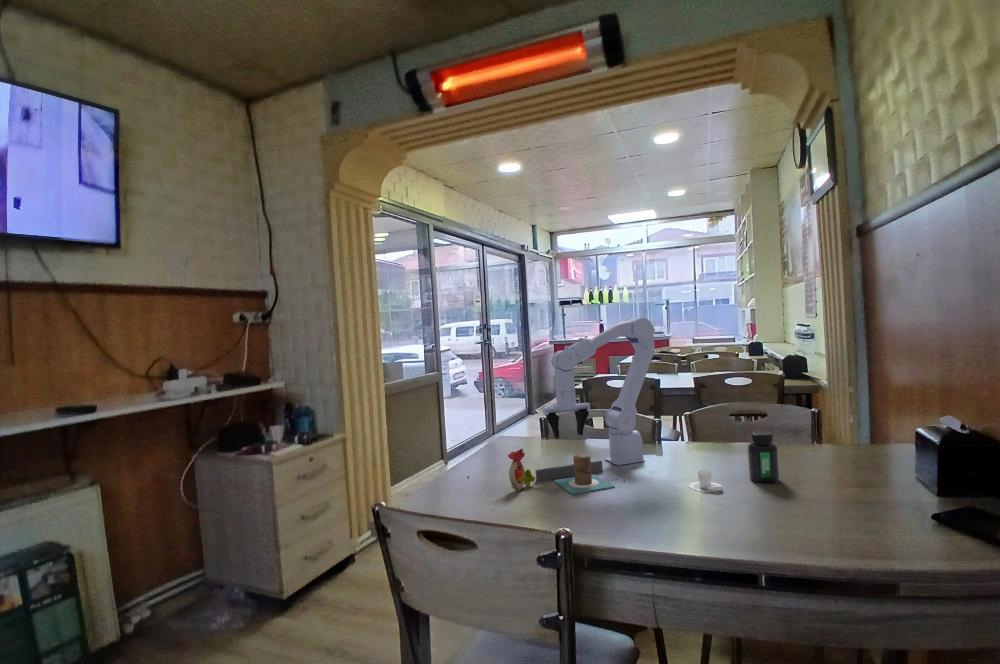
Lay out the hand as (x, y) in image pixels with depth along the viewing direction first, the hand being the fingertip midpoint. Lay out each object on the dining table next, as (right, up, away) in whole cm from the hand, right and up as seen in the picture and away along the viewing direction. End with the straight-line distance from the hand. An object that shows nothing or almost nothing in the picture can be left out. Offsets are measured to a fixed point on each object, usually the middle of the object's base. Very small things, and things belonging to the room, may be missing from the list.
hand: (568, 436), depth 155 cm
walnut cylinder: (+2, -9, -17) cm, 19 cm away
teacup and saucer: (+29, -9, -27) cm, 40 cm away
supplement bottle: (+47, -7, -23) cm, 53 cm away
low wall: (-1, -10, -8) cm, 13 cm away
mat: (+2, -10, -17) cm, 19 cm away
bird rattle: (-15, -11, -16) cm, 25 cm away
